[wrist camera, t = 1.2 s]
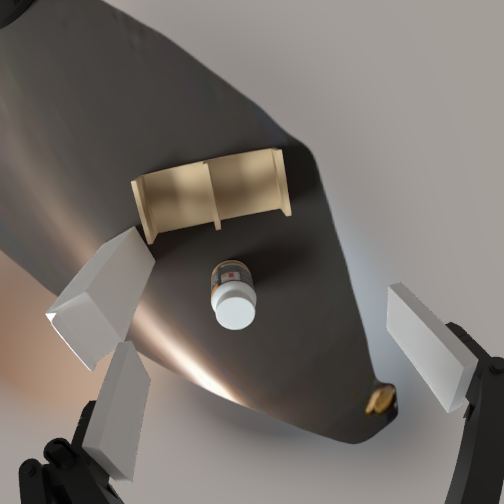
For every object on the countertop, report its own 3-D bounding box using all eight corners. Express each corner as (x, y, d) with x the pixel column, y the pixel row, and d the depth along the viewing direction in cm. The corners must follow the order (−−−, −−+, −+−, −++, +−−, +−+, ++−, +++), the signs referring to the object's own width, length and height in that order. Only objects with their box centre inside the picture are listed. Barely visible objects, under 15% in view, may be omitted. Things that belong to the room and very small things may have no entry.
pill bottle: (207, 263, 45) (205, 298, 36) (246, 254, 45) (254, 287, 36) (217, 297, 47) (217, 337, 38) (254, 289, 47) (263, 327, 38)
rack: (141, 175, 39) (131, 181, 35) (273, 147, 40) (281, 149, 35) (155, 231, 42) (148, 244, 38) (282, 205, 43) (291, 215, 38)
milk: (123, 277, 45) (71, 381, 24) (102, 243, 42) (29, 333, 22) (156, 260, 44) (116, 365, 24) (135, 224, 42) (72, 310, 21)
